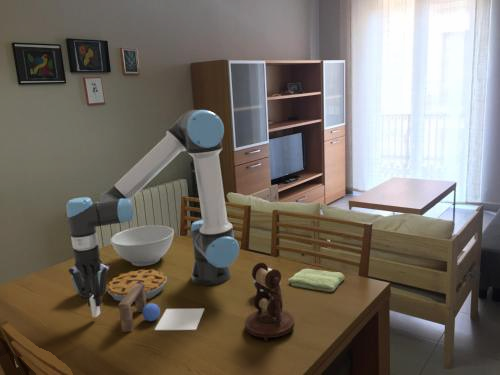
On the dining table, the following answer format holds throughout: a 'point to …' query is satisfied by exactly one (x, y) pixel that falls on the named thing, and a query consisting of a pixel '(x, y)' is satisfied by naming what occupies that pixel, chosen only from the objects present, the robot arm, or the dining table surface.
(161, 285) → the pie
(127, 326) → the bridge
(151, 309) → the ball
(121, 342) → the dining table surface
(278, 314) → the brown wooden tall piece
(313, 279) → the washcloth
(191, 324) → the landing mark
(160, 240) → the decorative bowl
